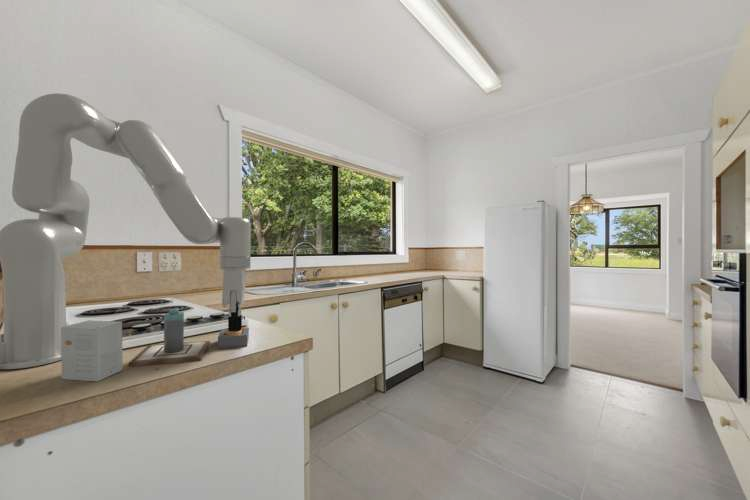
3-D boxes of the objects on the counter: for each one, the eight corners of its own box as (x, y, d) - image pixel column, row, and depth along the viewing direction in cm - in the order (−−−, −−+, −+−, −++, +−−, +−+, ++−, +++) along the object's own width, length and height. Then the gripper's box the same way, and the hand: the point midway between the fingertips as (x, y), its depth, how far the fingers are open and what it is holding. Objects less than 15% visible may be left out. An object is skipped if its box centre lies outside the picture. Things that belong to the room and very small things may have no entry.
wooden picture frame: (128, 366, 68) (128, 362, 68) (148, 348, 79) (148, 344, 79) (200, 360, 73) (200, 356, 73) (210, 343, 84) (210, 340, 84)
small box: (123, 370, 66) (123, 321, 66) (97, 382, 60) (97, 328, 60) (89, 368, 67) (89, 319, 66) (60, 379, 61) (60, 326, 61)
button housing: (217, 348, 80) (217, 336, 80) (221, 340, 87) (221, 329, 87) (247, 346, 83) (247, 335, 83) (248, 338, 89) (248, 327, 89)
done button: (225, 340, 82) (225, 333, 82) (227, 335, 86) (227, 328, 86) (241, 339, 84) (241, 331, 84) (242, 334, 87) (242, 327, 87)
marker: (161, 353, 73) (161, 311, 73) (166, 348, 77) (167, 308, 77) (181, 352, 75) (181, 310, 74) (185, 346, 79) (185, 307, 78)
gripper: (224, 261, 90) (223, 324, 91) (215, 265, 76) (215, 340, 77) (251, 261, 93) (251, 322, 93) (248, 265, 78) (248, 337, 79)
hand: (235, 330), depth 85 cm, fingers closed
